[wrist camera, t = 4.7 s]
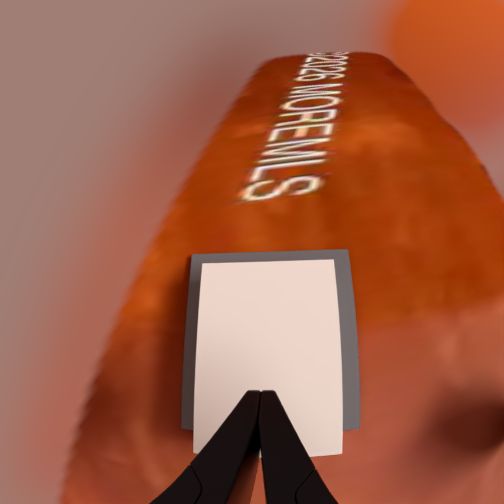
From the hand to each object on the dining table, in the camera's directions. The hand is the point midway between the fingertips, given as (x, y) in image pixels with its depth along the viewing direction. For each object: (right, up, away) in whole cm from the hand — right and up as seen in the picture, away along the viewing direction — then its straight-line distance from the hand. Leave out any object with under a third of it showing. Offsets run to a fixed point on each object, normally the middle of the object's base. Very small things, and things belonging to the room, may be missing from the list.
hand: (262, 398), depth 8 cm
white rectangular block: (+1, -6, +4) cm, 7 cm away
